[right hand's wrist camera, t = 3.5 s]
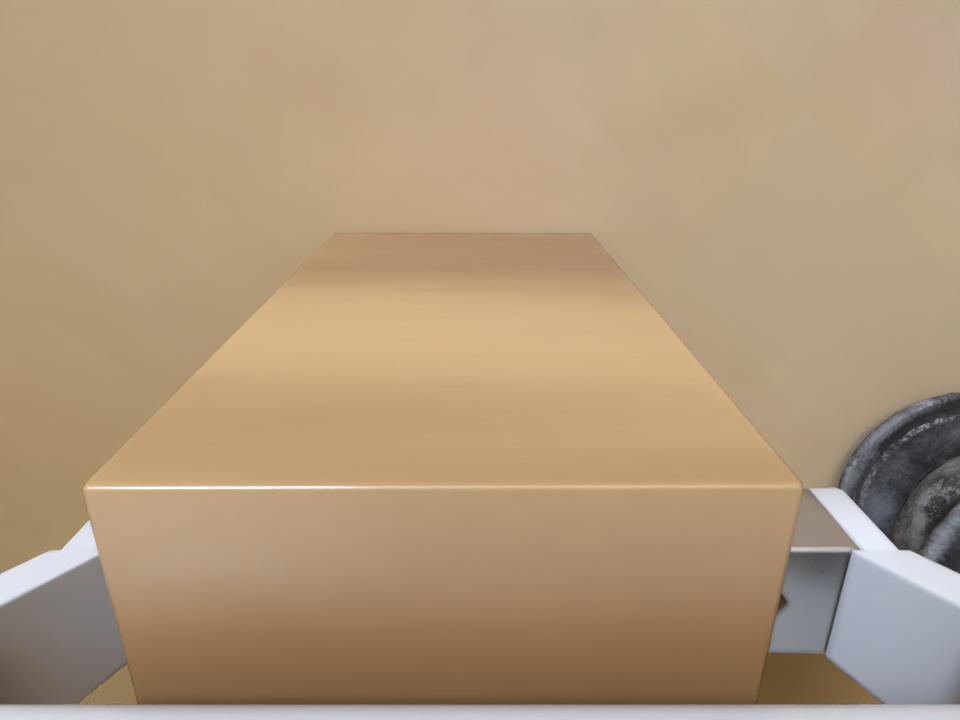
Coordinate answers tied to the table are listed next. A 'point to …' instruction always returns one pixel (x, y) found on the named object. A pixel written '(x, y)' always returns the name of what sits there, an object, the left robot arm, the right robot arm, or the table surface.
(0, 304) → the table surface
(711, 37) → the table surface
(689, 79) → the table surface
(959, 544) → the grey chess piece
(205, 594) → the box
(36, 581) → the right robot arm
